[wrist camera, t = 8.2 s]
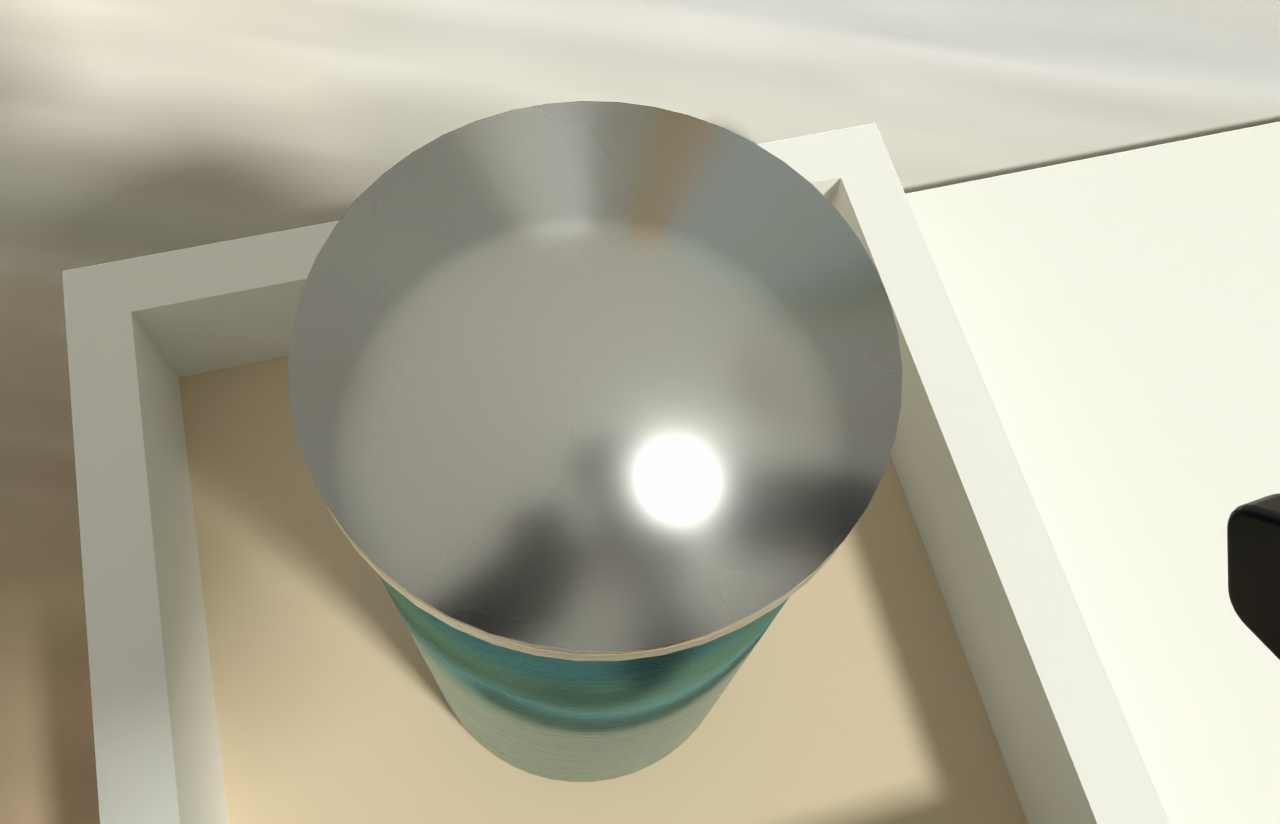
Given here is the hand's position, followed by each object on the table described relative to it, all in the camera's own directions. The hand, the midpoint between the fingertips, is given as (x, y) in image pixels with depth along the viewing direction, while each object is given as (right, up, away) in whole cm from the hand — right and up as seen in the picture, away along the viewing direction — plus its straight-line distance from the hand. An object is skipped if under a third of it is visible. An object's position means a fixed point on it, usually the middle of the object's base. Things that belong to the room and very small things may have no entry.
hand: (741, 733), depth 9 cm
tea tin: (-2, -1, +10) cm, 10 cm away
